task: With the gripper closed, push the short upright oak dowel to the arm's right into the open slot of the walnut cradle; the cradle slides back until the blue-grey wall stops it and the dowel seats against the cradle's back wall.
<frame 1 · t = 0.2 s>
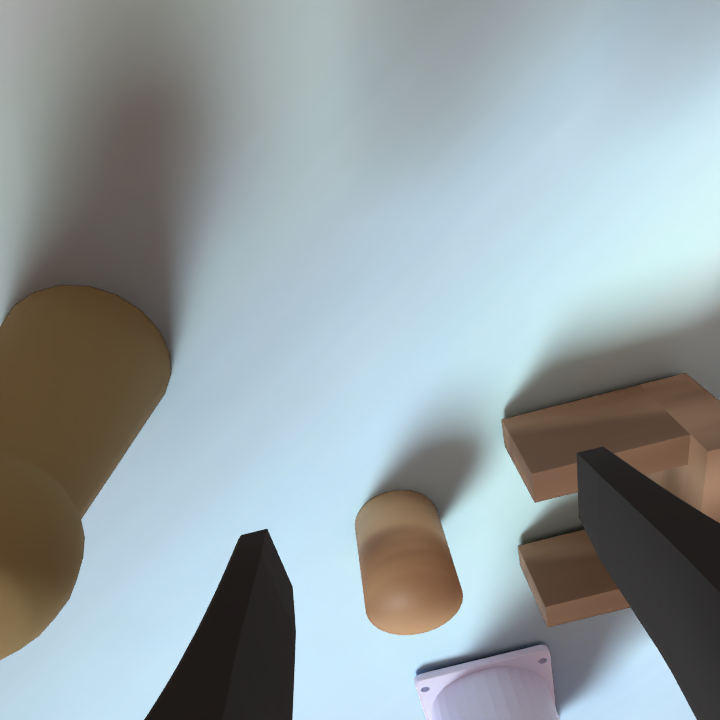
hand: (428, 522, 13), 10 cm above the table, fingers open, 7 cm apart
walnut cradle: (619, 513, 24), point 3 cm above the table, slide at 0.0 cm
cork: (89, 358, 21), on the table
oak dowel: (396, 521, 27), on the table
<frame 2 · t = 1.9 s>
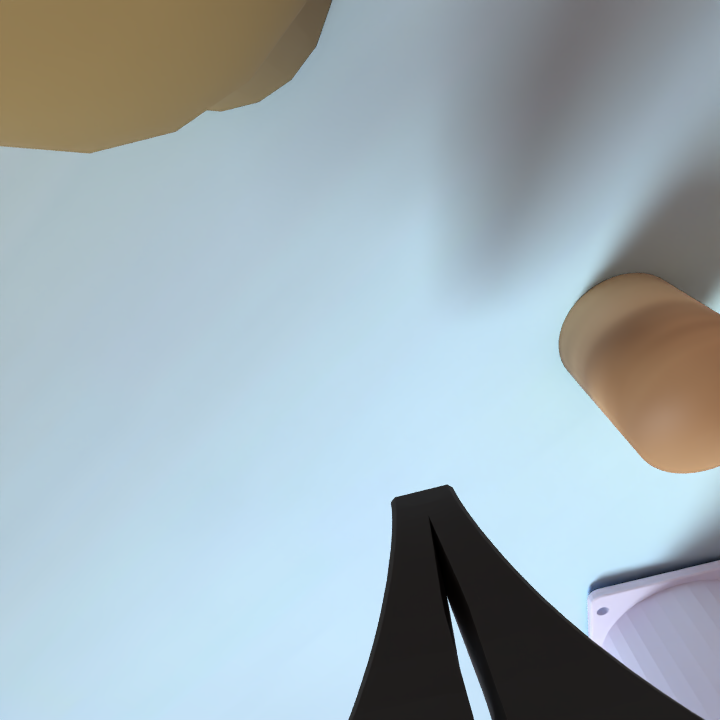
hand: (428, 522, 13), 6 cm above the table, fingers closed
oak dowel: (619, 332, 18), on the table
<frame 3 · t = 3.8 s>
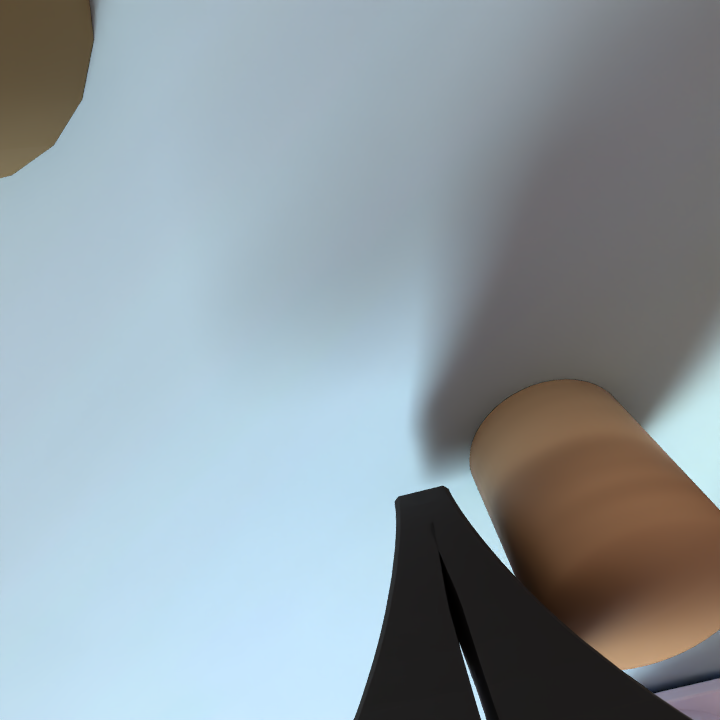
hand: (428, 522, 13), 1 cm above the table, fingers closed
oak dowel: (547, 448, 14), on the table, touching gripper
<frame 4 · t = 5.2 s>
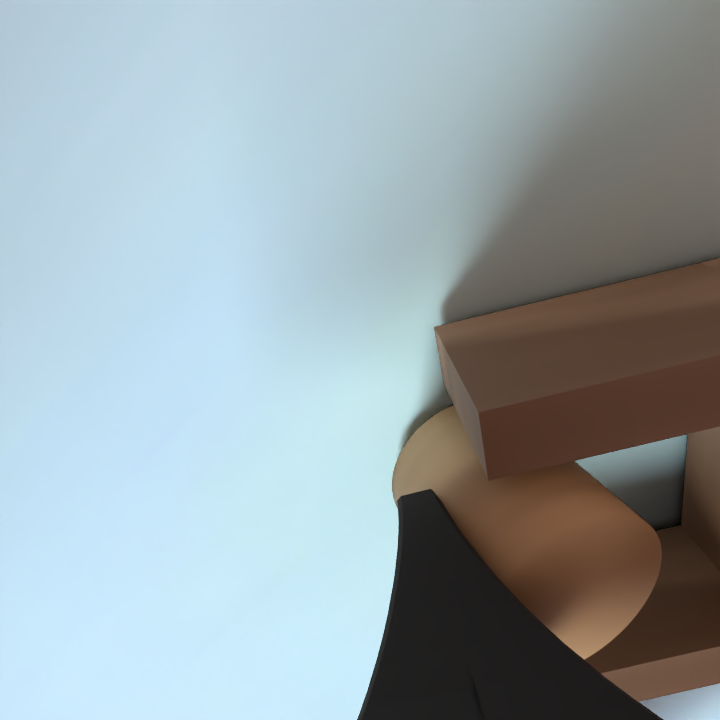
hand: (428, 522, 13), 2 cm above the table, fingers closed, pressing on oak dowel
walnut cradle: (661, 513, 12), point 3 cm above the table, slide at 0.0 cm
oak dowel: (463, 467, 15), on the table, tilted 14°, touching gripper
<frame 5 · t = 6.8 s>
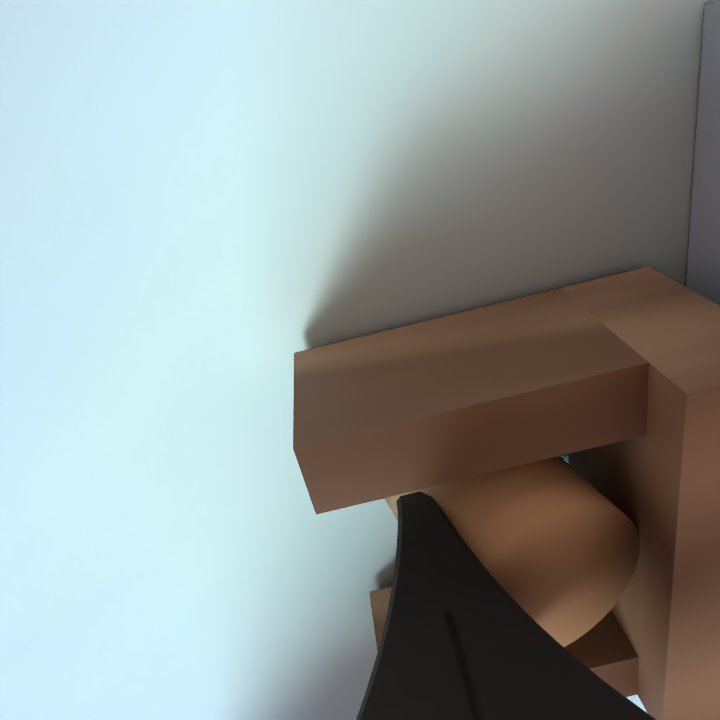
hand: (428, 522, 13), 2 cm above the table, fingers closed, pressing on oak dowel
walnut cradle: (524, 538, 12), point 3 cm above the table, slide at 4.0 cm
oak dowel: (450, 460, 15), on the table, tilted 13°, touching gripper
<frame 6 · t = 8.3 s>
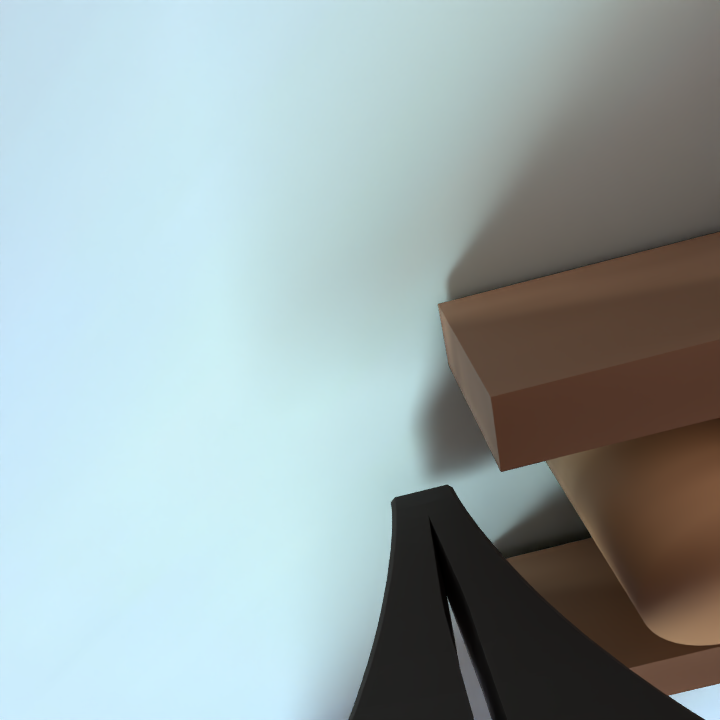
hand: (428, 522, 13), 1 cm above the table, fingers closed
walnut cradle: (684, 501, 12), point 3 cm above the table, slide at 4.6 cm
oak dowel: (620, 426, 14), on the table
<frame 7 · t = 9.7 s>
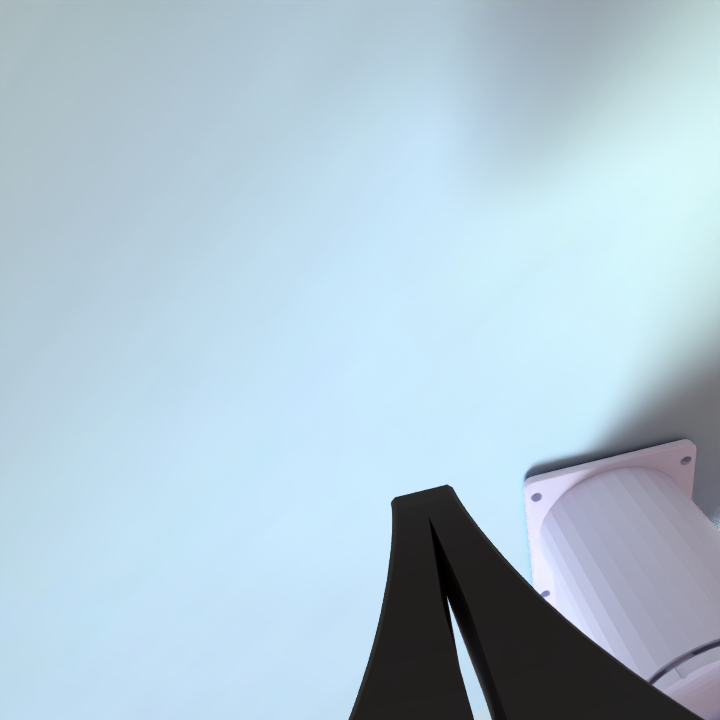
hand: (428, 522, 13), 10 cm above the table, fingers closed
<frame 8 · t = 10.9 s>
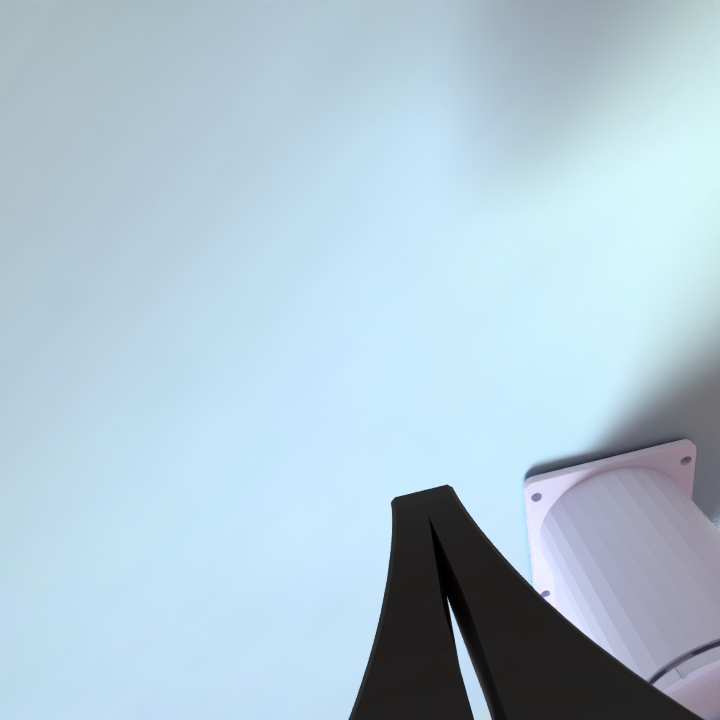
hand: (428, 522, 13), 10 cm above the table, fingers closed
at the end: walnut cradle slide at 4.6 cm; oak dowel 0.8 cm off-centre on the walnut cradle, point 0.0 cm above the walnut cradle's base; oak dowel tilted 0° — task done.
